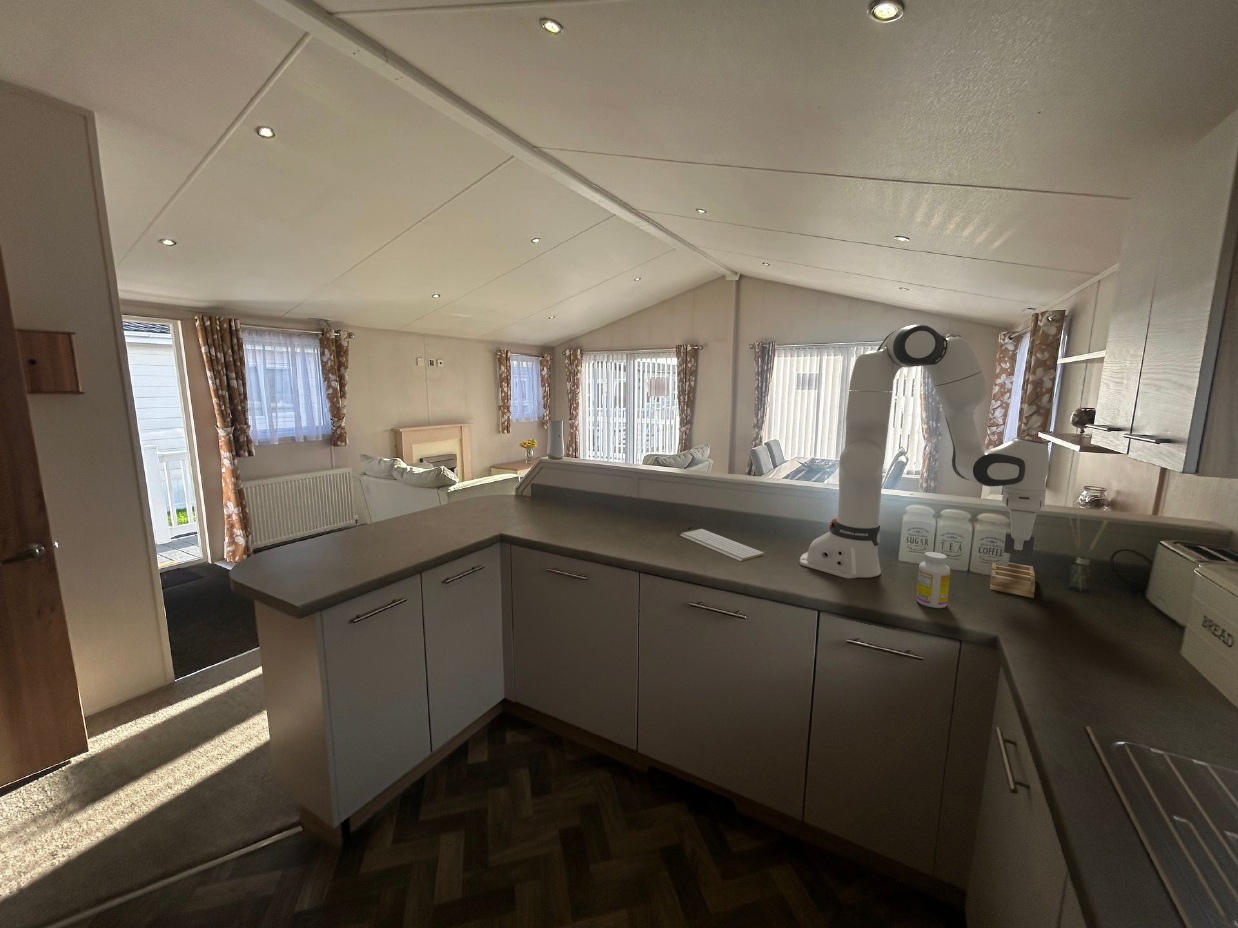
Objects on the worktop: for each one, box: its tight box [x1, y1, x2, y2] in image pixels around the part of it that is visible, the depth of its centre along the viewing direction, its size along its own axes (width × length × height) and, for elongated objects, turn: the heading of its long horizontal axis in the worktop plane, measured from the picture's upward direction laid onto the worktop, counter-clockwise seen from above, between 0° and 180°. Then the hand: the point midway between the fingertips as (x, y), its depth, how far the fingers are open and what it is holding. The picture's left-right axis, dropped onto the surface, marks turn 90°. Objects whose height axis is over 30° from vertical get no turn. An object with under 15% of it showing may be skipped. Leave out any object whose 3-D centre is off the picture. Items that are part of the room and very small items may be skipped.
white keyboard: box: [676, 526, 765, 562], centre depth 168 cm, size 31×3×12 cm
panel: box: [1003, 531, 1035, 557], centre depth 133 cm, size 6×2×6 cm, turn 51°
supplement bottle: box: [915, 551, 951, 609], centre depth 122 cm, size 7×7×13 cm
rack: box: [989, 562, 1036, 599], centre depth 135 cm, size 9×18×4 cm, turn 142°
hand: (1017, 547), depth 133 cm, fingers closed on panel, 2 cm apart
